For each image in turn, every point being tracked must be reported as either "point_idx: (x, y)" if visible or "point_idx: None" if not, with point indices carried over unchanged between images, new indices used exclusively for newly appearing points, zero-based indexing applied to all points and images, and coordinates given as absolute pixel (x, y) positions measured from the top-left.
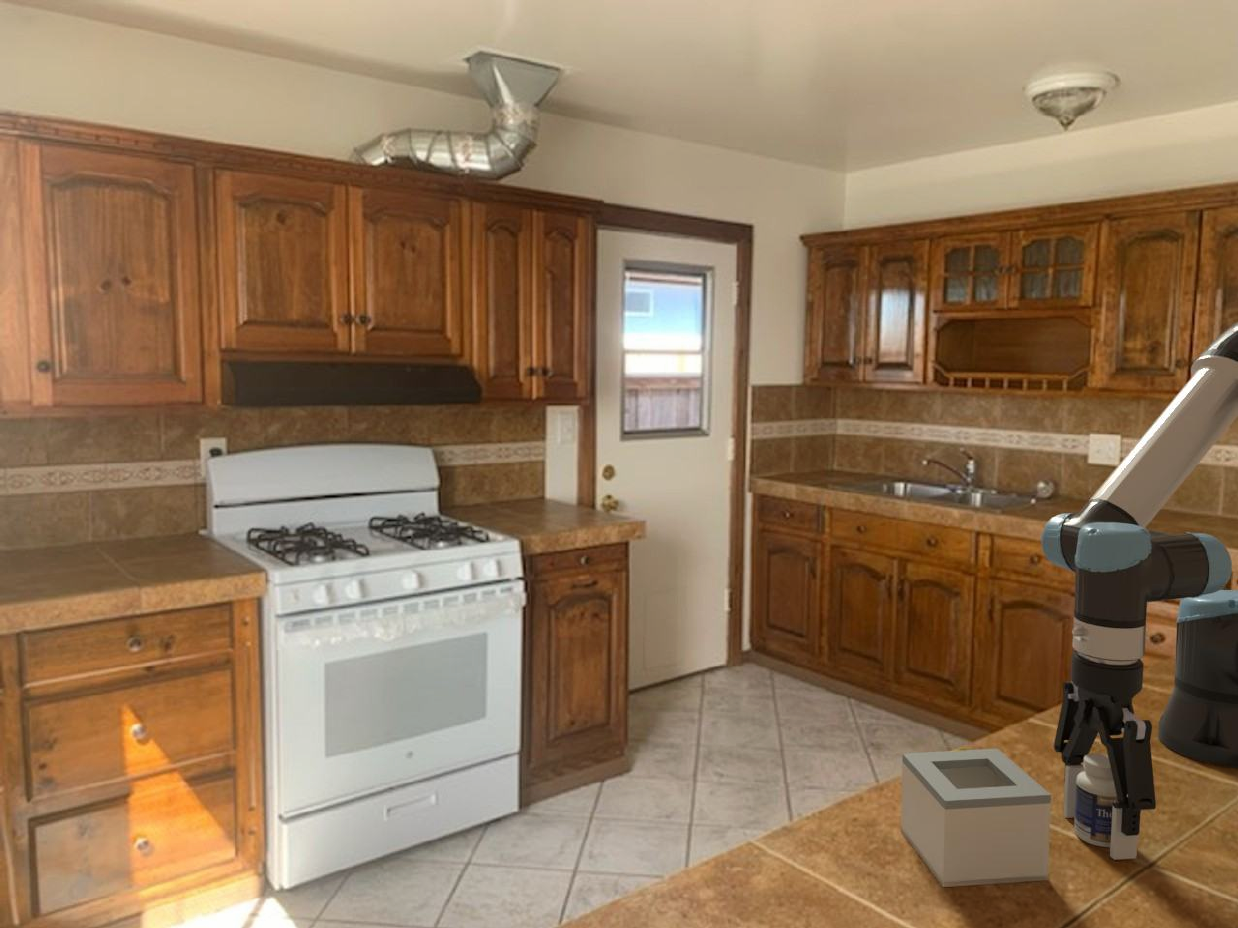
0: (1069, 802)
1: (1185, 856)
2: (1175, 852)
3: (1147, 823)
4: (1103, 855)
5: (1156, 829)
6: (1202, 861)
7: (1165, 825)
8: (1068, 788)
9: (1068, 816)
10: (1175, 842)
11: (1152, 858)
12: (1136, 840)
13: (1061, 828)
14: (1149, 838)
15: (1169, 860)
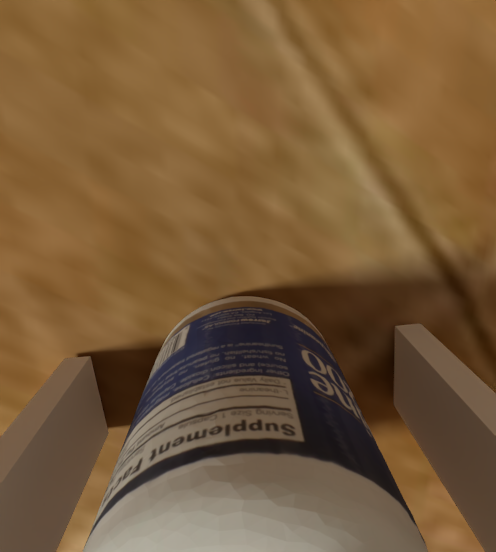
0: (83, 473)
1: (421, 101)
2: (384, 128)
3: (121, 107)
4: (371, 412)
5: (179, 95)
6: (472, 44)
7: (136, 20)
8: (57, 547)
9: (105, 428)
10: (302, 72)
11: (415, 254)
12: (457, 362)
13: None
14: (262, 178)
15: (439, 193)
